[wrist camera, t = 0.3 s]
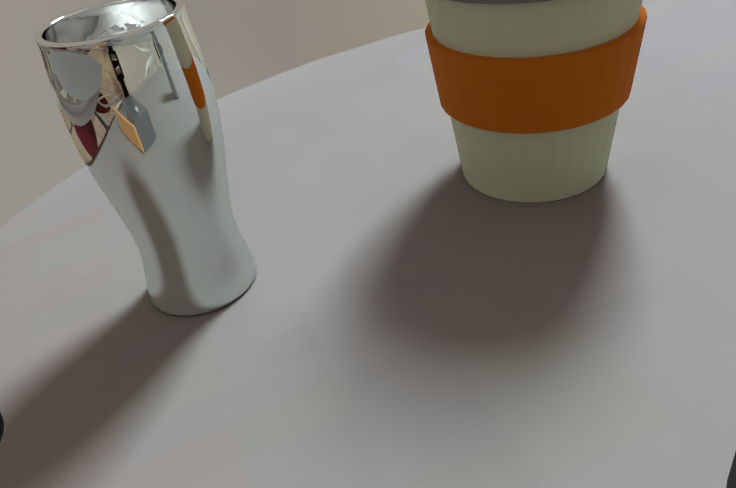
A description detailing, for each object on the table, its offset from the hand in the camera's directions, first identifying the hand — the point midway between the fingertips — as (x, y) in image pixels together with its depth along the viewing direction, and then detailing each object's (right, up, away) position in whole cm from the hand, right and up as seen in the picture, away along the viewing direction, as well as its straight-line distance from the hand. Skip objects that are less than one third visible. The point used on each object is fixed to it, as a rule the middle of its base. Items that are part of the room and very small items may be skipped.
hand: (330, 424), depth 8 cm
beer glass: (-9, 0, +31) cm, 32 cm away
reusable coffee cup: (+11, +7, +36) cm, 39 cm away
